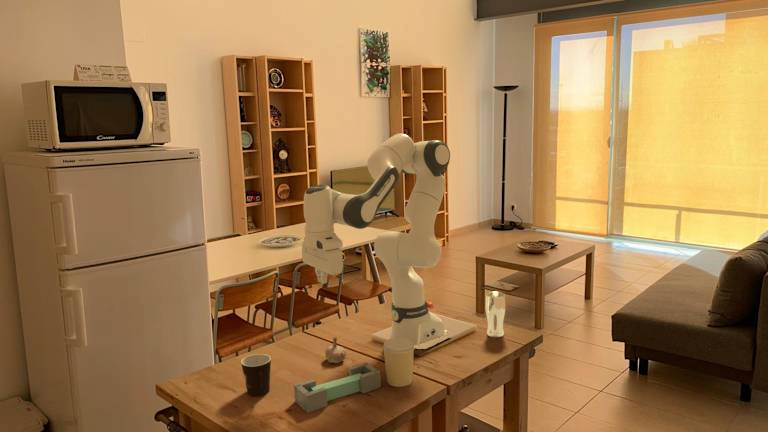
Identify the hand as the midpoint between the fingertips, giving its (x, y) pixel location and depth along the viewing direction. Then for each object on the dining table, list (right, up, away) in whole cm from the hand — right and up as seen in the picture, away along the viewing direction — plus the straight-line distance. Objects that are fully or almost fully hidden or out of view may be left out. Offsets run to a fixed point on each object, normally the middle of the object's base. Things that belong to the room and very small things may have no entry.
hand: (322, 282), depth 181 cm
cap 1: (-2, -33, -15) cm, 36 cm away
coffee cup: (+24, -30, -3) cm, 38 cm away
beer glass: (+59, -22, +29) cm, 70 cm away
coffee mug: (-18, -32, -8) cm, 38 cm away
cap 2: (+13, -30, -5) cm, 33 cm away
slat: (+6, -32, -10) cm, 34 cm away
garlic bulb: (+3, -27, +13) cm, 30 cm away
